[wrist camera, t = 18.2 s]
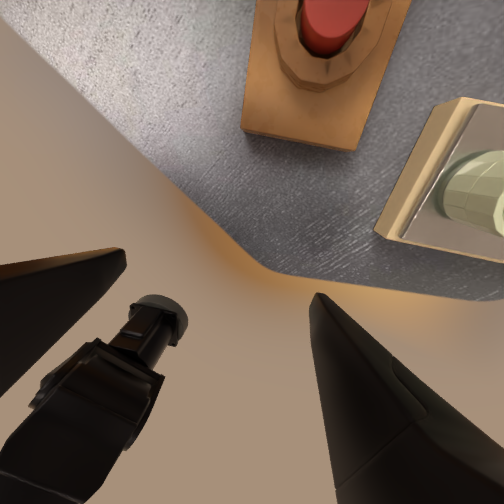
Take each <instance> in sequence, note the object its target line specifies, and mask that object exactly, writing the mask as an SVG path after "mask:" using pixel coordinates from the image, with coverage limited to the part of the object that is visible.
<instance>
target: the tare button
mask: <svg viewBox="0 0 504 504" xmlns="http://www.w3.org/2000/svg"><path fill="white" fill-rule="evenodd" d="M369 1H370V0H303V6H302V12H301V21H300V22H301V33H302V36H303V39H304V41H305V43H306V45H307V46H308V47H309V48H310V49H311V50H312V51H313V52H315V53H318V54H330V53H333V52H335V51H337V50H338V49H340V48H341V47H342V46H343V45H344V44H345V43H346V42H347V41H348V39H349V38H350V36H351V35H352V33H353V32H354V30H355V28H356V26H357V25H358V23H359V21H360V20H361V18H362V16H363V15H364V13H365V11H366V9H367V6H368V4H369Z"/></svg>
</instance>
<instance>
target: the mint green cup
mask: <svg viewBox="0 0 504 504" xmlns="http://www.w3.org/2000/svg"><path fill="white" fill-rule="evenodd" d="M443 206H444V209H445V212H446V214H447V216H449V217H450V218H451V219H452V220H453V221H455V222H457V223H460V224H463V225H466V226H469V227H472V228H475V229H478V230H480V231H483V232H486V233H489V234H492V235H495V236H498V237H501V238H504V149H500V150H495V151H490V152H487V153H485V154H483V155H481V156H479V157H477V158H475V159H473V160H472V161H470V162H468V163H467V164H466V165H465V166H464V167H462V168H461V169H460V170H459V171H458V172H457V173H456V174H455V175H454V176H453V177H452V178H451V179H450V181H449V182H448V184H447V186H446V188H445V191H444V194H443Z"/></svg>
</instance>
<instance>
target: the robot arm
mask: <svg viewBox="0 0 504 504" xmlns="http://www.w3.org/2000/svg"><path fill="white" fill-rule="evenodd" d="M126 266H127V263H126V254H125V251H124V250H123V249H120V248H116V247H112V248H106V249H99V250H93V251H87V252H81V253H75V254H68V255H62V256H55V257H49V258H43V259H36V260H31V261H24V262H18V263H11V264H5V265H0V397H1V396H2V395H3V394H4V393H5V392H6V391H7V390H8V389H9V388H10V387H12V385H14V383H16V382H17V381H18V380H19V379H20V378H21V376H23V375H24V374H25V372H27V371H28V369H30V368H31V367H32V366H33V365H34V364H35V363H36V362H37V361H38V360H39V359H40V358H41V357H42V356H43V355H44V354H45V353H46V352H47V351H48V350H49V349H50V348H51V347H52V346H53V345H54V344H55V343H56V342H57V341H58V340H59V339H60V338H61V337H62V336H63V335H64V334H65V333H66V332H67V331H68V330H69V329H70V328H71V327H72V326H73V325H74V324H75V323H76V322H77V321H78V320H79V319H80V318H81V317H82V316H83V315H84V314H85V313H86V312H87V311H88V310H89V309H90V308H91V307H92V306H93V305H94V304H95V303H96V302H97V301H98V300H99V299H100V298H101V297H102V296H103V295H104V294H105V293H106V292H107V291H108V290H109V288H110V287H111V286H112V285H113V284H114V282H115V281H116V280H117V279H118V278H119V276H120V275H121V274H122V273H123V272H124V270H125V268H126ZM130 313H131V319H130V320H129V321H128V322H127V323H126V324H125V325H124V326H123V327H122V328H121V329H120V332H119V333H118V334H117V335H116V336H115V337H114V338H113V339H112V340H111V341H110V343H109V344H106V343H104V342H102V341H101V339H99V338H96V339H95V340H94V341H93V342H86V343H85V344H84V345H83V346H81V347H80V348H79V349H78V350H77V351H76V352H75V353H74V354H73V355H72V356H71V357H69V358H68V359H67V360H65V361H64V362H63V363H62V364H61V365H59V366H58V367H56V368H55V369H54V370H52V371H51V372H50V373H48V374H47V375H46V376H45V377H44V378H43V379H42V380H41V382H40V390H39V391H38V392H37V393H36V396H35V398H34V399H33V400H32V401H31V403H30V404H29V405H28V407H30V408H32V409H34V410H33V412H32V413H31V414H30V415H29V416H28V417H27V418H26V419H25V420H24V421H23V422H22V423H21V424H20V426H19V427H18V428H17V429H16V430H15V431H14V432H13V433H12V434H11V435H10V436H9V438H8V439H7V440H6V442H5V444H4V446H3V448H2V450H1V451H0V504H84V503H85V502H86V501H87V500H88V499H89V498H90V497H91V496H92V495H93V494H94V493H95V492H96V491H97V490H98V489H99V488H100V487H101V486H102V484H103V483H104V481H105V479H106V477H107V475H108V474H109V472H110V470H111V469H112V467H113V466H114V464H115V462H116V460H117V459H118V457H119V456H120V454H121V452H122V451H127V449H129V448H130V446H131V445H132V444H133V443H134V441H135V440H136V438H137V437H138V435H139V433H140V432H141V430H142V429H143V427H144V425H145V423H146V421H147V419H148V417H149V415H150V413H151V411H152V408H153V406H154V403H155V401H156V398H157V396H158V393H159V391H160V389H161V386H162V384H163V381H164V379H165V376H163V375H162V374H161V375H160V374H158V373H156V372H155V371H153V368H154V367H155V365H156V363H157V362H158V360H159V358H160V357H161V355H162V353H163V352H164V350H165V348H166V347H167V345H169V346H173V347H176V346H177V344H178V314H177V313H176V312H173V311H169V310H164V309H160V308H155V307H151V306H146V305H142V304H137V303H133V304H131V305H130ZM309 318H310V338H311V347H312V353H313V358H314V365H315V371H316V377H317V383H318V389H319V394H320V401H321V407H322V412H323V419H324V425H325V431H326V437H327V443H328V449H329V455H330V461H331V467H332V473H333V478H334V485H335V488H336V498H337V503H338V504H504V448H502V447H501V446H500V445H499V444H497V443H496V442H495V441H494V440H492V439H491V438H490V437H489V436H488V435H486V434H485V433H484V432H483V431H481V430H480V429H479V428H478V427H477V426H475V425H474V424H473V423H472V422H471V421H469V420H468V419H467V418H466V417H464V416H463V415H462V414H461V413H460V412H458V411H457V410H456V409H455V408H454V407H452V406H451V405H450V404H449V403H448V402H446V401H445V400H444V399H443V398H442V397H440V396H439V395H438V394H437V393H435V392H434V391H433V390H432V389H431V388H430V387H428V386H427V385H426V384H425V383H424V382H422V381H421V380H420V379H419V378H418V377H417V376H416V375H414V374H413V373H412V372H411V371H410V370H409V369H408V368H406V367H405V366H404V365H403V364H402V363H401V362H400V361H399V360H398V359H397V358H395V357H394V356H393V357H392V354H391V353H390V352H389V351H387V349H385V348H384V347H383V346H382V345H381V344H380V343H379V342H378V341H377V340H375V339H374V338H373V337H372V336H371V335H370V334H369V333H368V332H367V331H366V330H364V329H363V328H362V327H361V326H360V325H359V324H358V323H357V322H356V321H355V320H353V319H352V318H351V317H350V316H349V315H348V314H347V313H345V311H343V310H342V309H341V308H340V307H339V306H338V305H337V304H336V303H335V302H334V301H332V300H331V299H330V298H329V297H328V296H327V295H325V294H323V293H316V294H315V296H314V298H313V300H312V302H311V305H310V308H309Z"/></svg>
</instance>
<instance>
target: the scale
mask: <svg viewBox="0 0 504 504" xmlns="http://www.w3.org/2000/svg"><path fill="white" fill-rule="evenodd" d="M480 103H483V104H488V105H494V106H499V107H504V104H499V103H493V102H488V101H483V100H477V99H472V98H467V97H460V98H457V99H454V100H451V101H449V102H446V103H443V104H440V105H437V106H435V107H434V108H433V110H432V112H431V114H430V116H429V118H428V120H427V122H426V124H425V127H424V129H423V131H422V133H421V135H420V137H419V139H418V141H417V143H416V145H415V147H414V149H413V151H412V153H411V155H410V157H409V159H408V161H407V163H406V165H405V167H404V169H403V171H402V173H401V175H400V177H399V179H398V181H397V183H396V185H395V187H394V189H393V191H392V193H391V195H390V197H389V199H388V201H387V203H386V205H385V207H384V209H383V211H382V213H381V215H380V217H379V219H378V221H377V223H376V225H375V227H374V229H373V230H374V231H375V232H377V233H378V234H380V235H381V236H383V237H384V238H385V239H389V240H394V241H399V242H403V243H408V244H413V245H418V246H423V247H427V248H432V249H437V250H442V251H447V252H451V253H456V254H461V255H466V256H470V257H475V258H480V259H485V260H490V261H494V262H499V263H504V260H499V259H494V258H489V257H484V256H480V255H475V254H470V253H465V252H460V251H456V250H451V249H446V248H441V247H436V246H432V245H427V244H422V243H417V242H412V241H408V240H403V239H401V238H399V237H398V235H399V234H400V232H401V230H402V228H403V227H404V225H405V223H406V221H407V220H408V218H409V216H410V214H411V213H412V211H413V209H414V207H415V205H416V204H417V202H418V200H419V198H420V197H421V195H422V193H423V191H424V190H425V188H426V186H427V184H428V183H429V181H430V179H431V177H432V176H433V174H434V172H435V170H436V168H437V167H438V165H439V163H440V161H441V160H442V158H443V156H444V154H445V153H446V151H447V149H448V147H449V146H450V144H451V142H452V140H453V138H454V137H455V135H456V133H457V131H458V130H459V128H460V126H461V124H462V123H463V121H464V119H465V117H466V116H467V114H468V112H469V110H470V109H471V107H472V106H473V105H476V104H480Z"/></svg>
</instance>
